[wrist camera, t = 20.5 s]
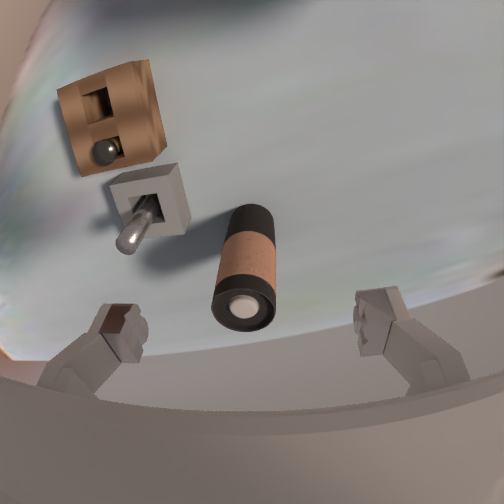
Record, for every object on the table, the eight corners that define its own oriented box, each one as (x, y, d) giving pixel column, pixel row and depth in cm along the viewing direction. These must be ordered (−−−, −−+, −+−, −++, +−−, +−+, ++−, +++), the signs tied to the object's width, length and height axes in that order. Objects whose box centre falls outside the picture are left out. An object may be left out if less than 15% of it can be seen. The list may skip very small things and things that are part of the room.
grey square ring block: (122, 173, 48) (109, 185, 43) (177, 162, 46) (168, 174, 42) (138, 224, 53) (128, 240, 49) (191, 218, 52) (184, 234, 48)
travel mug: (282, 233, 53) (285, 324, 37) (240, 247, 55) (228, 338, 39) (265, 195, 49) (261, 279, 33) (221, 211, 51) (198, 297, 35)
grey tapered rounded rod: (146, 190, 49) (112, 237, 38) (163, 187, 49) (132, 234, 38) (151, 206, 51) (120, 255, 40) (167, 203, 51) (139, 254, 39)
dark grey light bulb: (114, 128, 42) (89, 144, 36) (134, 123, 42) (110, 138, 35) (119, 149, 44) (96, 168, 38) (139, 145, 44) (118, 163, 38)
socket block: (81, 82, 38) (56, 89, 32) (148, 59, 37) (129, 61, 31) (102, 160, 46) (81, 177, 40) (167, 145, 45) (152, 161, 39)
